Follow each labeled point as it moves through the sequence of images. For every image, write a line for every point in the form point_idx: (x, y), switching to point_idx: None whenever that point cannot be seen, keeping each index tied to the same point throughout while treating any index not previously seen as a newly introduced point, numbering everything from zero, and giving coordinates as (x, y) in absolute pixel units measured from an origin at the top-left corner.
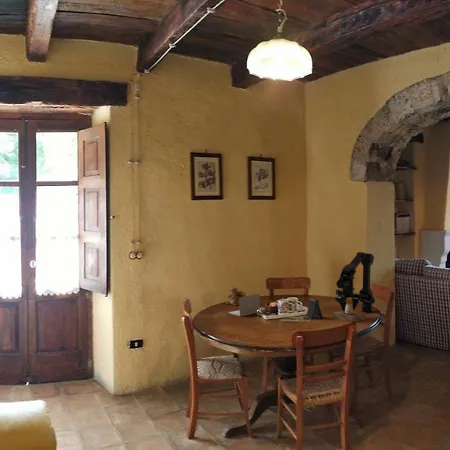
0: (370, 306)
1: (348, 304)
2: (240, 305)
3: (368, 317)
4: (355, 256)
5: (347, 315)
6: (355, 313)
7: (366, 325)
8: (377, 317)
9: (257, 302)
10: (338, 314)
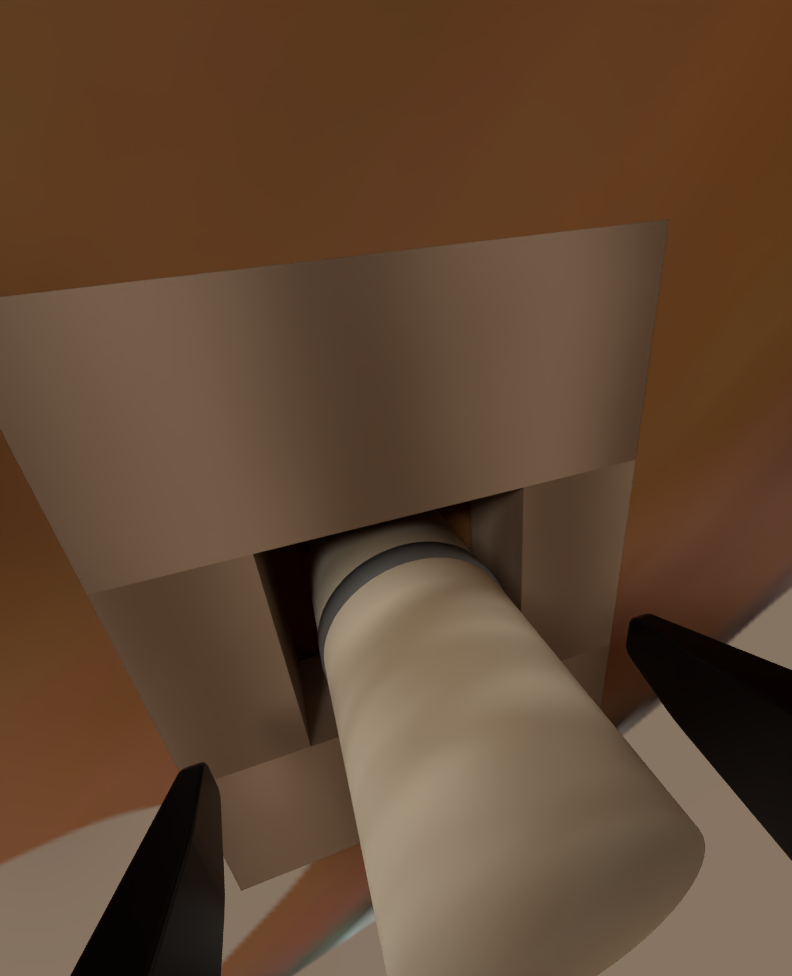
0: None
1: (552, 933)
2: None
3: (672, 598)
4: None
5: (260, 761)
6: (547, 641)
7: (335, 913)
8: (742, 628)
9: None
10: (87, 574)
